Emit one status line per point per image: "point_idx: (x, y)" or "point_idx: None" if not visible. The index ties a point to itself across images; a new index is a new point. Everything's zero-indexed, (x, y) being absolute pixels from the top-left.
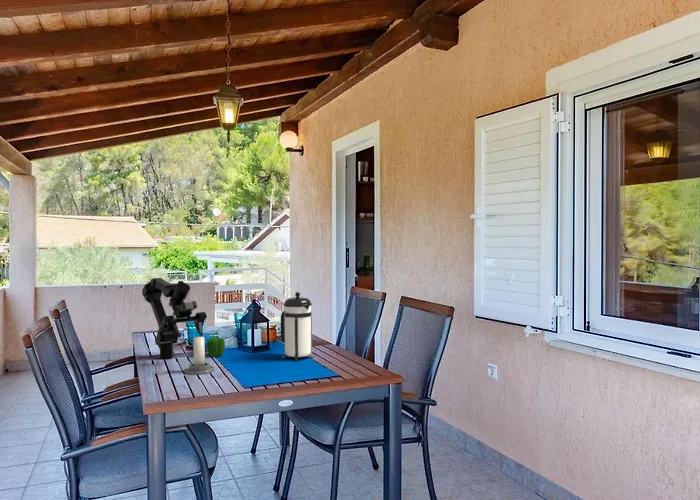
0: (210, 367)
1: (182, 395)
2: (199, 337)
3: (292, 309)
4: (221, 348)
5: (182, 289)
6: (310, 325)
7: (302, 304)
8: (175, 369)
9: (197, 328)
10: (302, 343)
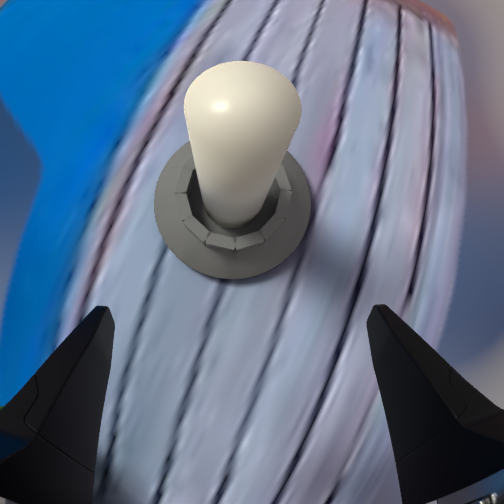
0: (174, 187)
1: (389, 14)
2: (234, 104)
3: None
4: (1, 406)
5: None
6: None
7: None
8: (313, 323)
9: (88, 425)
10: None
